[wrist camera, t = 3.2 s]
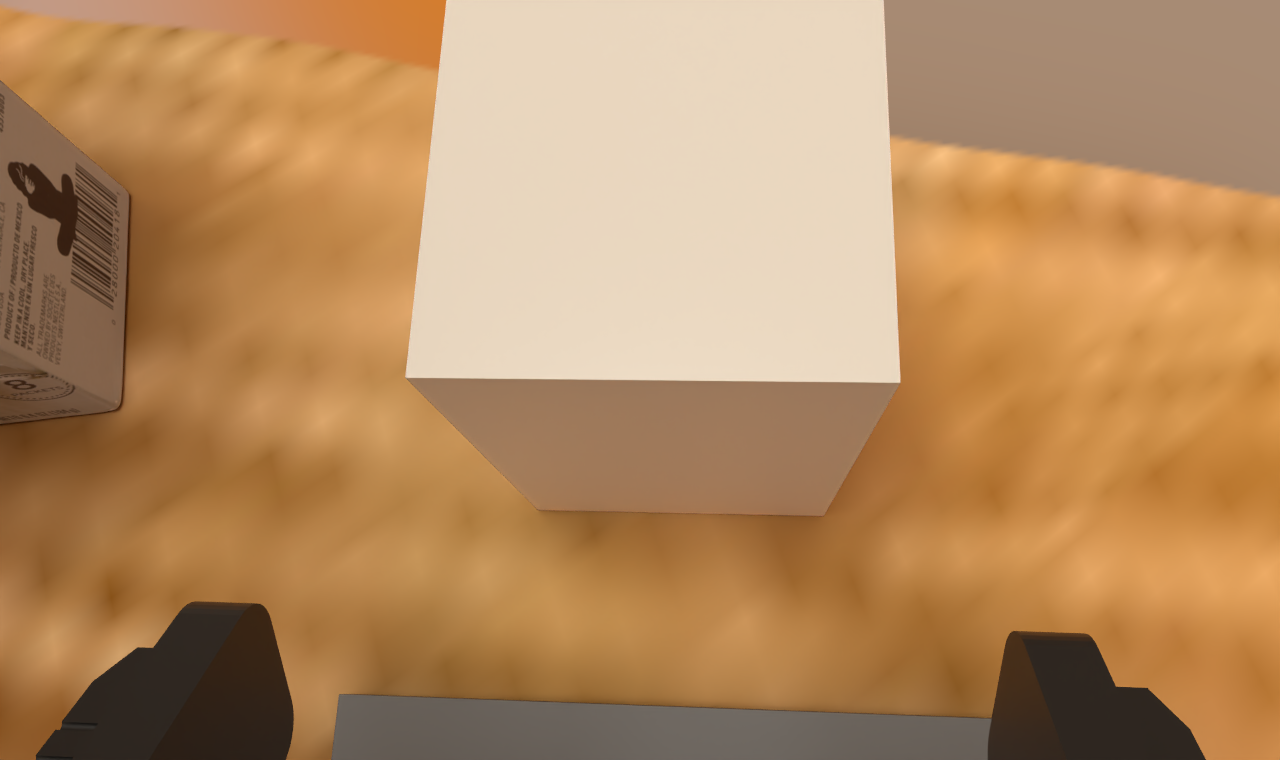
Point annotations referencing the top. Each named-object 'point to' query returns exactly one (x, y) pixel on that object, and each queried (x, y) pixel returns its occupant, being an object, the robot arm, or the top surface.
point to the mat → (637, 732)
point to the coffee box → (58, 273)
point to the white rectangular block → (660, 249)
